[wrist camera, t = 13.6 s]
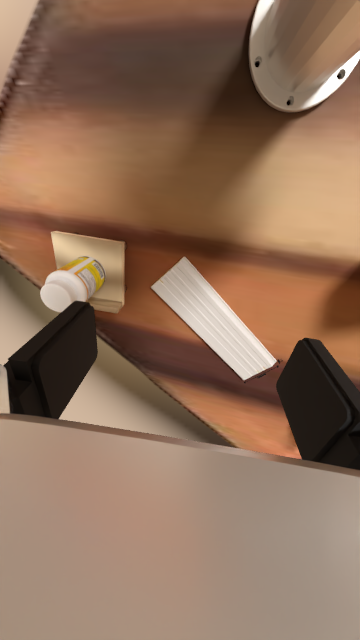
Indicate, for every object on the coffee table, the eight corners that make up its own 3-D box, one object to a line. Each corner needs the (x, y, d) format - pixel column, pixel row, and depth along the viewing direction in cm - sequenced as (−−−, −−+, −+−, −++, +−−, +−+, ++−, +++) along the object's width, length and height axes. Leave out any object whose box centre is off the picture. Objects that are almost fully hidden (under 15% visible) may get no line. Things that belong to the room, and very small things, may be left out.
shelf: (67, 227, 38) (41, 235, 32) (130, 237, 38) (116, 247, 31) (74, 287, 43) (53, 303, 37) (129, 295, 43) (117, 313, 37)
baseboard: (191, 249, 38) (152, 284, 42) (190, 253, 36) (148, 290, 40) (282, 356, 48) (243, 375, 52) (286, 364, 46) (244, 385, 50)
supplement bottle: (70, 277, 37) (29, 304, 28) (79, 248, 34) (37, 268, 26) (101, 293, 38) (70, 324, 29) (112, 266, 36) (82, 292, 27)
